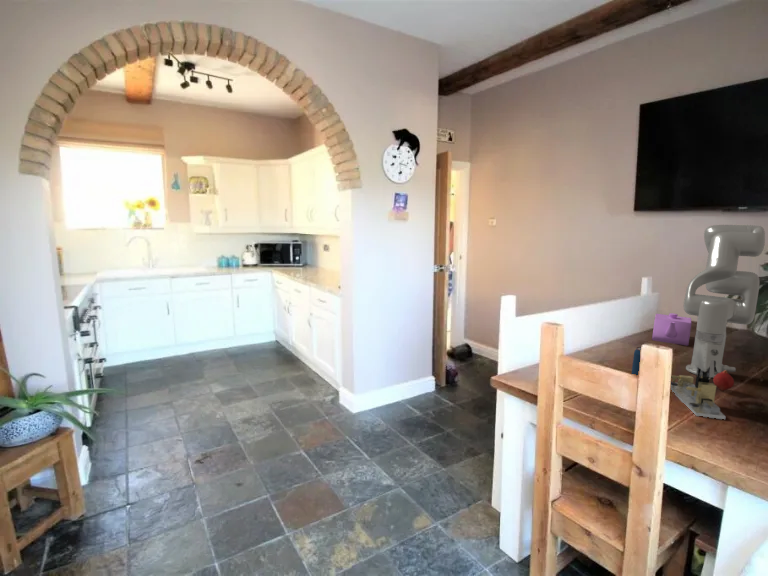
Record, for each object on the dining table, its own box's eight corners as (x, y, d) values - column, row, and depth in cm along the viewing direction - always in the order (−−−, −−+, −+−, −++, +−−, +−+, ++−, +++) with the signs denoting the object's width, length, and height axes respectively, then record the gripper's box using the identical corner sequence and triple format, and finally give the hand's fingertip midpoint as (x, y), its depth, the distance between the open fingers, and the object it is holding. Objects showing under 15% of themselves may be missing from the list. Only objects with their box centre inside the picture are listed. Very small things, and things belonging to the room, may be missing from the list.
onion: (707, 387, 153) (711, 366, 151) (723, 387, 152) (727, 367, 151) (719, 393, 147) (723, 372, 145) (736, 394, 147) (740, 373, 145)
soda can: (650, 383, 156) (654, 353, 154) (629, 378, 160) (633, 349, 158) (653, 377, 161) (657, 348, 159) (632, 373, 165) (636, 345, 163)
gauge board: (690, 387, 152) (691, 375, 152) (724, 419, 128) (727, 406, 127) (664, 384, 155) (666, 372, 154) (694, 415, 130) (696, 402, 129)
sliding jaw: (710, 402, 137) (713, 383, 135) (713, 405, 134) (716, 386, 133) (683, 399, 139) (686, 380, 138) (686, 402, 137) (689, 383, 135)
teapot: (651, 343, 205) (654, 316, 202) (653, 332, 225) (656, 307, 222) (688, 349, 196) (692, 321, 194) (687, 337, 216) (691, 311, 214)
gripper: (734, 344, 127) (725, 399, 131) (712, 331, 141) (704, 381, 145) (706, 342, 130) (697, 396, 133) (687, 329, 144) (679, 378, 147)
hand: (701, 388), depth 139 cm, fingers closed
